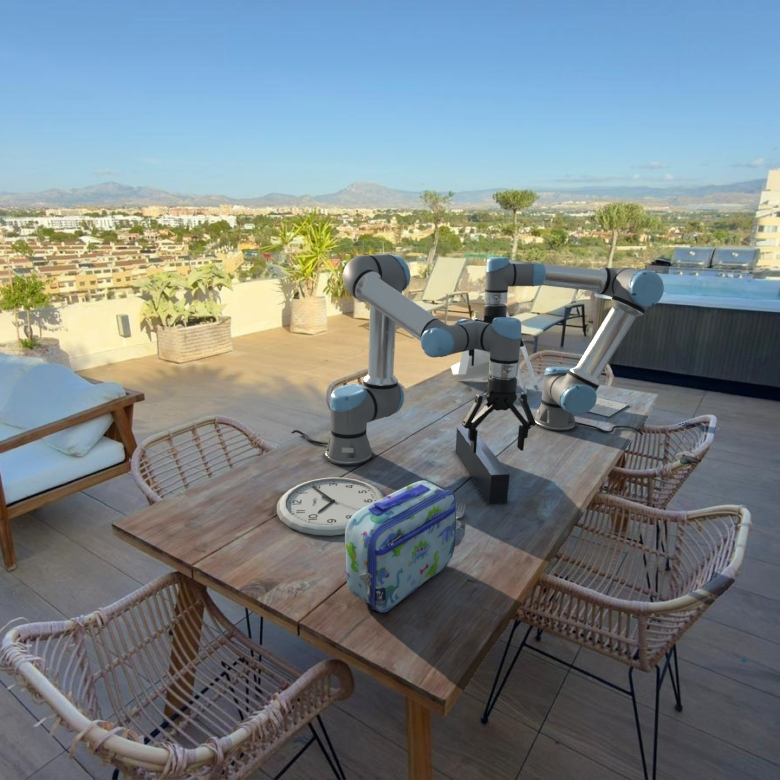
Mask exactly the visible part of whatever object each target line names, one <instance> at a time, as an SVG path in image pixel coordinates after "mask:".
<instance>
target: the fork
mask: <svg viewBox="0 0 780 780" xmlns="http://www.w3.org/2000/svg"><path fill="white" fill-rule="evenodd" d="M463 504H464V503H459V502H457V501H456V520H458V519H461V518H463V517H464V515H465V514H464V513H465V508H466V504H464V506H463Z"/></svg>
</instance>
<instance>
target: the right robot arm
mask: <svg viewBox="0 0 780 780" xmlns="http://www.w3.org/2000/svg"><path fill="white" fill-rule="evenodd" d="M484 273H485V282H484V283H485V285H484V301H483V303H484V306H483V318H482V319H481V318H478V317H475V318H474V321H479V322H485V323H491V324H492V322H493V319H494V318H497V317H506V313H507V312H508V311H507V310H508V306H507V304H508V296H509V295H508V293H509V287H532V288H533V287H541V286H545V287H554V288H563V289H564V288H565V289H573V290H582V291H590V292H593V293H594V294H595V295H602V296H607V297H610V298H611V299H610V302H611V308H610V309H609V311H608V313H606V316H605V318H604V319H603V321H602V322H601V325H600V326H599V327H598V329H597V331H596V333H595V334H594V335H593V338H592V340H591V341H590V342H589V344H588V346H587V348H586V350H585V351H584V352H583V355H582V356H581V358H580V360H579V361H578V362H577V365H576V366H575V367H570V366H548V367H546V368H545V370H544V373H543V381H542V382H543V383H542V394H541V402H540V405H539V407H538V408H537V410H536V413H535V417H534V419H535V422H536V425H535V426H537V427H539V428H542V429H544V430H549V431H556V432H567V431H572V430H574V429H575V428H576V425H579V426H584V427H587V428H592V429H595V430H598V431H600V432H602V433H605V434H611V433H613V432H614V430H615V429H617V428H619V429H630V430H634V431H635V432H637V433H638V434H640V435H641V436H644V433H643V432H642V431H641V430H639V429H638V428H636V427H634V426H629V425H614V426H612V427H611V430H606V429H603V428H600V427H598V426H595V425H591V424H587V423H583V422H578V421H576V418H575V417H576V416H577V415H578V416H579V415H583V414H587V413H589V412H588V411H590V410H591V409H592V408H593V407H594V405H595V403H596V400H597V398H598V397H597V391H598V389H599V387H600V386H601V383H600V380H599V379H600V377H601V375H602V374H603V372H604V370H605V369H606V367H607V365H608V364H609V363H610V361H611V359H612V357H613V356H614V354H615V352H617V349H618V348H619V346H620V345H621V343H622V341H623V339H624V338H625V336H626V335H627V333H628V332H629V330H630V328H631V326H632V325H633V324H634V321H635V320H636V319H637V318H638V317H643V316H644V315H645V312H646V311H647V310H648V308H650V307H653V306H655V305H657V304H658V303H659V302H660V300H662V297H663V295H664V292H665V286H664V285H665V284H664V282H663V279H662V277H661V276H660V275H659V274H658V273H657V272H655V271H652V270H649V269H647V268H646V269H642V268H635V267H603V266H601V267H599V268H598V269H596V268H588V267H577V266H568V265H561V264H560V265H559V264H552V263H551V264H550V263H541V262H531V261H522V260H517V259H512V260H510V258H509V257H505V256H492V257H488V259H486V265H485V271H484ZM524 345H525V343H524V341H523V338H521V342H520V347H523V346H524ZM469 356H472V366H474V349H472V350H469Z"/></svg>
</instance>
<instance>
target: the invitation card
mask: <svg viewBox="0 0 780 780" xmlns="http://www.w3.org/2000/svg"><path fill="white" fill-rule="evenodd" d="M628 406H629V404H627V403H623V402H618V401H614V400H609V399H605V398H601V397H597V400H596V403H595V405H594V407H593V408H592V409H591V410H590V411H588V412H587V413H593V414H596V415H600V416H604V417H608V418H609V417H611V416H613V415H614V414H616V413H617V412H619V411H621V410H623V409H624V408H626V407H628Z"/></svg>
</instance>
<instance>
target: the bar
mask: <svg viewBox="0 0 780 780" xmlns="http://www.w3.org/2000/svg"><path fill="white" fill-rule="evenodd" d="M468 430H469V429H466V428H465V427H464V426H457V427H456V436H455V437H456V438H455V454H456V455H457V457H458V459H459V460H460V461H461V463H462V464H463V466H464V468H465V469H466V471H467V473H468V474H469V475H470V478H471V479H472V480H473V482H474V484H475V485H476V487H477V489H478V490H479V491H480V493H481V494H482V496H483V497H484V499H485V501H486V503H487V504H488V505H502V504H504V505H505V504H508V496H509V485H510V475H511V474H510V473H509V471H508V470H507V469H506V468H505V466H504V465H503V463H502V462H501V461H500V460H499V459H498V458H497V456H496V454H494V452H493V451H492V450H491V449H490V448H489V446H488V445H487V444H486V442H485V441H484V440H483V439H482V437H481V436H480V435H479V433H477V447H476V453H473V452H472V450H471V441H470V440H469V439H468Z"/></svg>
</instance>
